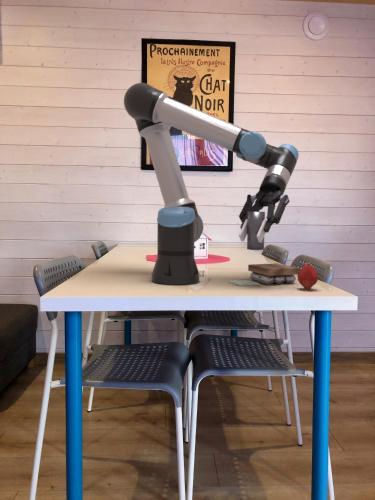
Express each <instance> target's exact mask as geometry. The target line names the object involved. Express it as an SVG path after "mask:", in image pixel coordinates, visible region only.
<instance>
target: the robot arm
mask: <svg viewBox="0 0 375 500" xmlns="http://www.w3.org/2000/svg"><path fill="white" fill-rule="evenodd" d="M123 106H124V109H125V111H126V113H127V114H128V115H129V116H130V117H131V118H132V119H134V121H135V124H136V128H137V132H138V134H139V135H140V137H142V138H144V139H145V143H146V147H147V149H148V152H149V156H150V159H151V163H152V166H153V169H154V173H155V176H156V180H157V182H158V186H159V189H160V193H161V196H162V200H163V202H164V206H163V208H162V207H161V208H160V209H159V210H158V211H157V218H156V222H157V237H156V238H157V246H156V247H157V256H156V260H155V264H154V266H153V270H152V273H151V282H153V283H155V284H161V285H174V286H175V285H176V286H177V285H180V286H182V285H183V286H184V285H191V284H198V283H199V282H200V272H199V269H198V265H197V263H196V258H195V243H196V242H197V241H199V239H200V238H201V236H202V234H203V232H204V222H203V219H202V218H201V216H200V215H199V212H198V208H197V205H196V203H195V201H194V200H192V199H191V198H190V197H189V193H188V191H187V187H186V183H185V181H184V176H183V174H182V170H181V167H180V164H179V161H178V160H179V158H178V157H177V153H176V150H175V146H174V143H173V140H172V136H171V133H170V130H171V128H174V129H176V130H180V131H182V132H185V133H187V134H190V135H191V136H194V137H196V138H199V139H200V140H201V139H202V140H204V141H206V142H209V143H211V144H214V145H216V146H218V147H221V148H223V149H225V150H228V151H231V152H232V153H234V154H235V156H236V157H237V158H238V159H241V161H242V160H243V161H244V162H248V163H250V164H253V165H256V166H259V167H261V168H264V169H266V170H267V171H266V173H265V174H264V177H263V179H262V182H261V183H260V186H259V190H258V191H257V192H256V194H255V195H251V194H247V196H246V201H245V203H244V204H243V207H242V208H241V211H240V212H239V215H238V217H239V220H240V222H241V224H240V226H239V228H240V231H239V233H238V237H239V239H240V241H241V242H245V239H247V224H248V212H261V210H263V208H265V207H267V214H266V216H265V220H263V222H262V225H261V227H260V229H259V232H258V234H257V239H258V241H259V243H262V240H263V238H264V239H265V235H266V234H268V233H269V232H270V230H271V228H272V226H273V225H278V224H280V222H281V220H282V217H283V214H284V212H285V209H286V207H287V206H288V204H289V203H290V202H291V201H290V198H289V195H288V194H284V193H285V191H286V188H287V185H289V184H288V183H289V181H290V179H291V176H292V174H293V172H294V170H295V167H296V165H297V162H298V159H299V151H298V149H297V147H295V146H294V145H293V144H290V143H282V144H281V145H279V146H278V147H277V146H275V145H271V144H269V143H267V141H266V139H265V136H263V135H262V134H261V133H260V132H258V131H250V130H248V129H245V128H243V127H241V126H239V125H236V124H233V123H231V122H229V121H226V120H225V119H221V118H219V117H217V116H214V115H211V114H209V113H207V112H205V111H202V110H199V109H197V108H194V107H192V106H191V105H190V106H189V105H187V104H184V103H182V102H179V100H178V101H177V100H175V99H173V98H170V97H169V96H168V93H166V92H165V91H162V90H160V89H158V88H155V87H154V86H152V85H150V84H148V83H146V82H138V83H135V84H131V86H130V87H128V89H127V90H126V92H125V94H124V95H123ZM277 203H278V205H277V207H276V204H277Z"/></svg>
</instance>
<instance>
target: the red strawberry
mask: <svg viewBox="0 0 375 500" xmlns="http://www.w3.org/2000/svg"><path fill="white" fill-rule="evenodd" d="M318 274H319V273H318V271H317V270H316V268H314V267H313V266H312V265H311V262H307V263H306V264H305V265H304V266H302V267H301V268H300V269H299V272H298V274H297V281H298V283H299V285H300V286H301V287H303V288H304V289H305V290H307V291H308V290H310V289H311V288H313V287H314V286H315V285H316V284H317V282H318V281H319V280H318V279H319V275H318Z"/></svg>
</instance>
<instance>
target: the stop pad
mask: <svg viewBox="0 0 375 500" xmlns="http://www.w3.org/2000/svg"><path fill="white" fill-rule="evenodd" d="M228 283H229V284H232V285H235V286H239V287H245V286H246V287H247V286H249V287H250V286H260V284H261V283H260V282H257V281H254V280H251V279H250V280H249V279H244V280H243V279H241V280H237V279H236V280H228Z"/></svg>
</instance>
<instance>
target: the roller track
mask: <svg viewBox="0 0 375 500" xmlns="http://www.w3.org/2000/svg"><path fill="white" fill-rule="evenodd" d="M250 280H251V281H253V282H257V283H260V284H264V285H268V286H272V285H273V283H274V284H278V285H282V284H284V283H287V284H290V283H292V284H293V283H295V282H296V276H295V274H294V275H275V276H267V275H263V274H259V273H255V272H251V273H250Z"/></svg>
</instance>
